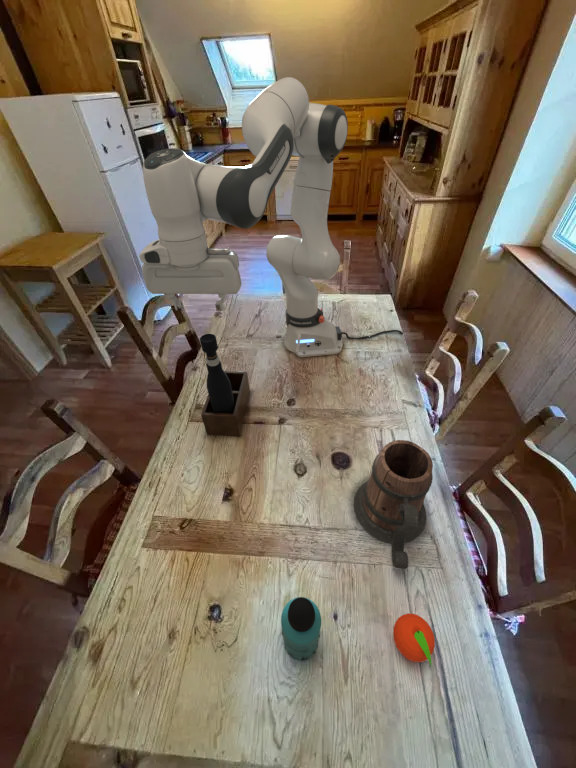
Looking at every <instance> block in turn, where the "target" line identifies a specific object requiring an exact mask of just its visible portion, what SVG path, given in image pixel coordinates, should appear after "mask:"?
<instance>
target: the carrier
mask: <svg viewBox="0 0 576 768" xmlns="http://www.w3.org/2000/svg"><path fill="white" fill-rule="evenodd" d="M224 372H225V373H226V375H227V377H228V379H229V381H230V383H231V389H232V394H233V399H234V404H235V409H234V413H233V414H228V413H213V409H212V405H211V401H210V398H209V394H207V397H206V400H205V402H204V404H203V408H202V411H201V413H200V416H201V420H202V424H203V426H204V429H205V433H206V436H220V437H221V436H224V437H225V436H226V437H240V436H241V433H242V430H243V425H244V421H245V416H246V412H247V407H248V402H249V398H250V394H251V390H250V382H249V376H248V375H249V374H248V371H237V370H236V371H234V370H233V371H232V370H231V371H230V370H224Z"/></svg>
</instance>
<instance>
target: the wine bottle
mask: <svg viewBox="0 0 576 768" xmlns="http://www.w3.org/2000/svg"><path fill="white" fill-rule="evenodd" d="M199 343H200V346H201V350H202V352H203V353H205V354H206V355H205V356H206V357H205V361H206V363H205V366H206V369H207V375H206V390H207V393H208V394H209V398H210V401H211V405H212V409H213V413H228V414H233V413H234V409H235V404H234V399H233V394H232V389H231V383H230V381H229V379H228V377H227V375H226V373H225V372H224V371H225V370H224V369H223V365H222V361H221V360H220V356H219V355H218V352H217V351H218V350H219V346H218V341H217V336H216V335H215V334H213V333H205V334H202V335H201V336H200V337H199ZM208 394H207V395H208Z"/></svg>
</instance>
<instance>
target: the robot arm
mask: <svg viewBox="0 0 576 768" xmlns="http://www.w3.org/2000/svg"><path fill="white" fill-rule="evenodd" d="M241 132H242V137H243V140H244V143H245V145H246V147H247V148H248V150H249V152H250V153H251V154H252V155H253V156H254V157H255V158H254V159H253V161H252V163H251V164H248V165H245V166H225V165H216V164H209V163H205V162H202V161H199V160H196V159H194V158H192V157H191V156H189V155H187V154H186V152H185V151H184V150H182V149H181V148H174V147H172V148H171V147H170V148H165V149H160V150H157V151H154V152H152V153H150V154H149V155H147V157H146V158H145V160H144V161H143V165H142V175H143V181H144V182H143V183H144V188H145V193H146V196H147V201H148V205H149V207H150V212H151V214H152V216H153V218H154V219H155V221H156V224H157V235H158V239H155V240H153V241H150V242H149V243H148V244H146V246H145V247H144V248H143V249H142V250H141V251H140V253H139V255H138V256H139V259H140V261H141V263H143V264H142V266H141V273H142V274H141V275H142V277H143V278H142V279H143V281H144V285H145V288H146V290H147V291H148V292H150V293H151V294H152V295H165V297H166V299H167V300H168V301H169V302H170V303H171V304H172V305H173V306H174V309H175V311H182V312H183V310H184V309H185V305H184V302H183V300H181V299H180V300H179V298H178V297H177V296H176V295H217V296H218V299H220V300H216V302H215V304H214V305H215V310H216V311H217V312H224V310H225V299H226V297H227V295H236V294H238V293H239V291H240V290H241V287H242V278H241V273H240V270H239V266H240V262H239V256H238V254H237V253H236V251H234V250H231V249H230V248H229V247H223V248H219V247H218V248H217V247H209V245H208V240H207V234H206V230H205V227H204V224H203V223H204V221H207V220H209V221H212V222H217V223H224V224H228V225H230V226H234V227H237V228H240V229H245V230H246V229H251V228H252V227H254V226H255V225H256V224H257V223H258V222H259V221H260V220H261V219H262V217H263V216H264V215H265V212H266V210H267V207H268V203H269V200H270V197H271V195H272V193H273V191H274V190H275V188H276V187H277V185H278V183H279V182H280V179H281V178H282V175H283V174H284V172H285V171H286V168H287V167H288V165H289V163H290V161H291V158H292V156H295V157H299V158H298V162H297V165H296V170H295V175H294V180H293V189H292V196H291V205H290V216H291V218H292V220H293V222H295V223H296V224H297V225H298V227H299V229H300V232H301V237H298V236H293V235H275V236H273V237H272V238H270V240H269V241H268V244H267V246H266V251H265V254H266V259H267V262H268V263H269V265H270V266H271V267H272V268H273V269H274V270H275V271H276V273H277V275H278V277H279V278H280V281H281V283H282V286H283V288H284V291H285V298H286V299H285V300H286V310H285V323H286V332H285V337H284V341H283V346H284V347H285V348H286V349H287V350H288V351H290V352H292V353H294V354H295V355H296V356H297V357H299V358H309V357H311V358H312V357H320V356H329V355H338V354H340V353H341V351H342V349H343V345H344V344H343V343H344V342H343V337H342V335H345V337H346V338H347V339H349V340H363V339H368V338H373V337H376V336H379V335H382V334H387V333H399V334H400V335H404V333H403V331H401V330H399V329H391V330H383V331H379V332H377V333H373V334H370V335H365V336H364V335H363V336H360V337H351V336H349V334H348V333H347V332H344V331H342V329H341V328H340V326H335V324H334V323H333V322H332V321H330V320H328V319H326V318H325V316H324V311H323V308H322V307H320V308H319V291H318V287H317V285H316V284H314V282H313V281H311V280H319V281H327V280H328V281H329V280H331V279H333V277H334V276H335V275H336V274H338V273H337V272H338V271H339V269H340V266H341V256H340V252H339V251H338V249H337V247H335V245H334V244H333V242H332V240H331V237H330V236H331V235H330V232H329V229H328V228H329V227H328V213H329V205H330V198H331V190H332V186H333V176H334V160H335V158H336V157H338V156H339V154H340V153H341V152H342V150H343V149H344V147H345V145H346V143H347V138H348V132H349V122H348V117H347V115H346V112H345V110H344V109H343V108H342V107H339V106H337V105H334V104H331V103H330V104H322V103H315V102H310V98H309V94H308V91H307V89H306V87H305V86H304V85H303V83H302V82H301V81H300V80H298V79H296V78H295V77H290V76H286V77H282V78H281V79H278V80H276V81H275V82H273V83H271V84H270V85H268V86H267V87H266V88H263V90H262V91H261V92H260V93H258V95H257V96H256V97H255V98H253V100H252V101H251V102H250V103H249V104H248V105H247V107H246V108H245V111H244V112H243V115H242V118H241Z"/></svg>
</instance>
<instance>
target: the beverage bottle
mask: <svg viewBox="0 0 576 768" xmlns="http://www.w3.org/2000/svg"><path fill="white" fill-rule="evenodd" d="M280 624H281V634H282V635H281V637H282V640H283V645H284V646H283V648H284V650H285V652H286V654H287V655H288V656H289V657H290V658H291V659H292V660H294V661H297V662H301V663H303V662H305V661H306V662H307V661H309V660H311V659H312V657H314V655H316V653H317V650H318V648H319V641H320V638H321V628H322V614H321V611H320V610H319V608H318V606H317V604H316V603H315V602H314V601H313V600H311V599H309V598H308V597H304V596H298V597H294V598H291V599H290V600H289V601H288V602H287V603H286V604H285V606H284V607H283V609H282V612H281V616H280Z"/></svg>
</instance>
